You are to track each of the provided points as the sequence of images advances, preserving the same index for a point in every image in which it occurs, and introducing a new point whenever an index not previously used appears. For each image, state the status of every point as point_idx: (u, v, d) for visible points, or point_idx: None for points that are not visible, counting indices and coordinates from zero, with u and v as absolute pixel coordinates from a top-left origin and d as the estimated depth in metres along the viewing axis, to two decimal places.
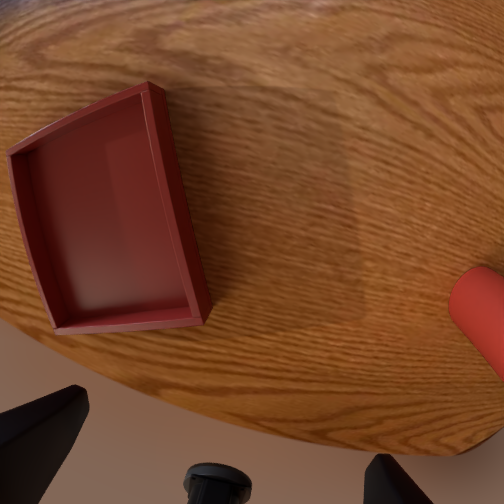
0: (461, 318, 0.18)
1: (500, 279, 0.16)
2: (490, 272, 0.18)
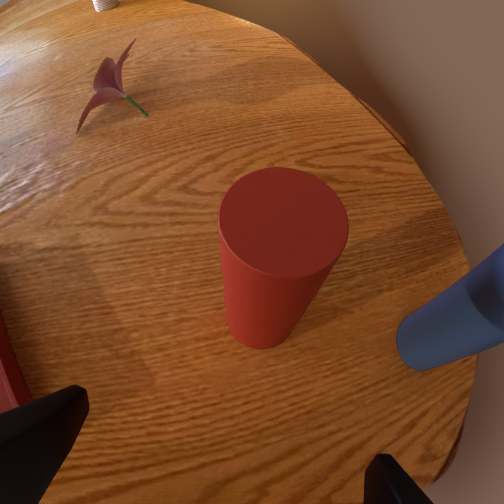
0: (233, 328, 0.21)
1: None
2: None
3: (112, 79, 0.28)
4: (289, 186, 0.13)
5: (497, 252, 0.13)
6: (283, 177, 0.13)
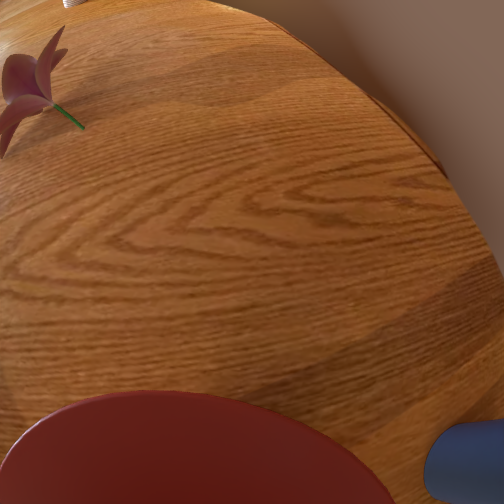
0: None
1: None
2: None
3: (33, 83, 0.18)
4: (198, 491, 0.02)
5: None
6: (177, 449, 0.03)
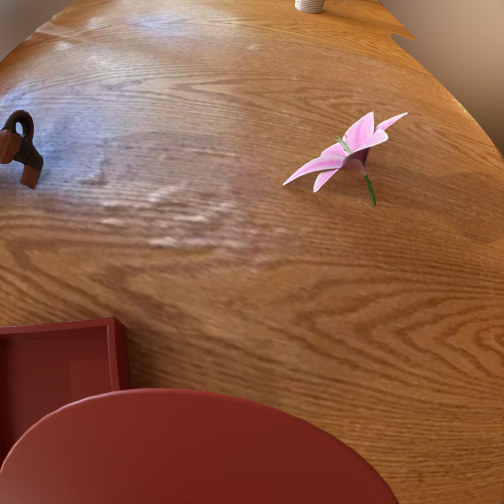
0: None
1: None
2: None
3: (363, 150, 0.25)
4: (203, 489, 0.02)
5: None
6: (180, 446, 0.03)
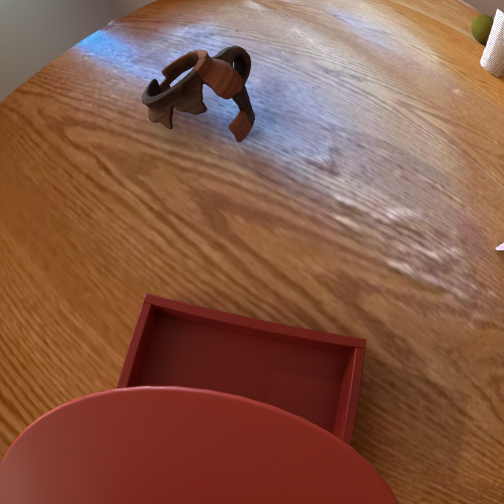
0: None
1: None
2: None
3: None
4: (200, 487, 0.02)
5: None
6: (179, 444, 0.03)
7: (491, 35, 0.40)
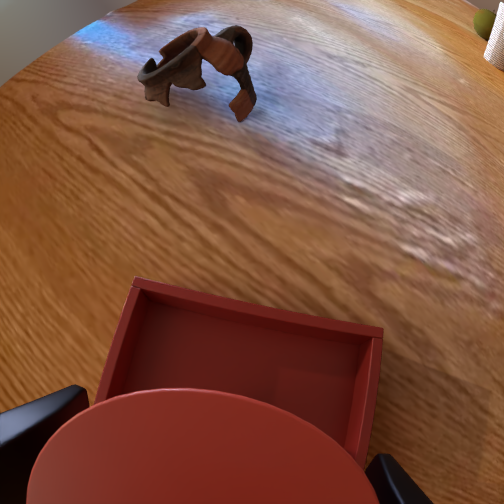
0: None
1: None
2: None
3: None
4: (210, 470, 0.03)
5: None
6: (192, 434, 0.03)
7: (494, 28, 0.38)
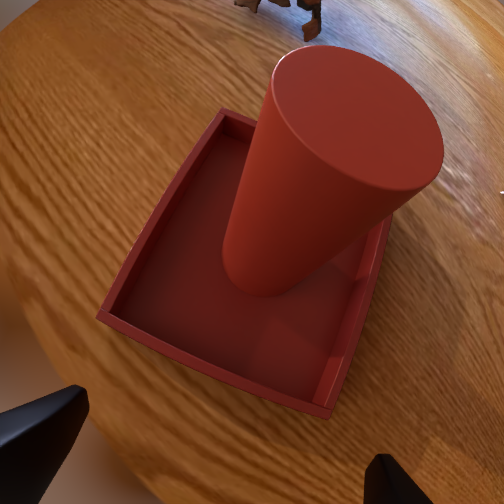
0: (229, 261, 0.16)
1: None
2: None
3: None
4: (372, 75, 0.08)
5: None
6: (365, 63, 0.08)
7: None
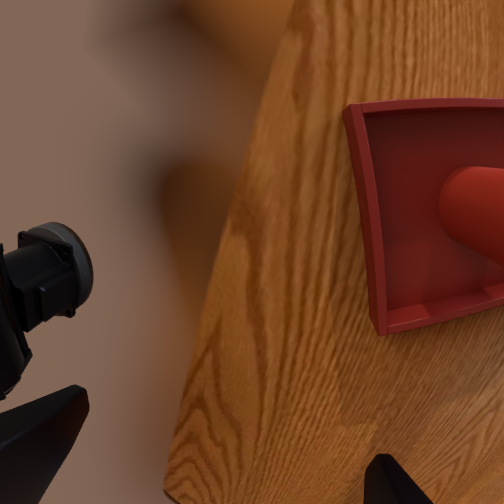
0: (460, 185, 0.15)
1: None
2: None
3: None
4: None
5: None
6: None
7: None
